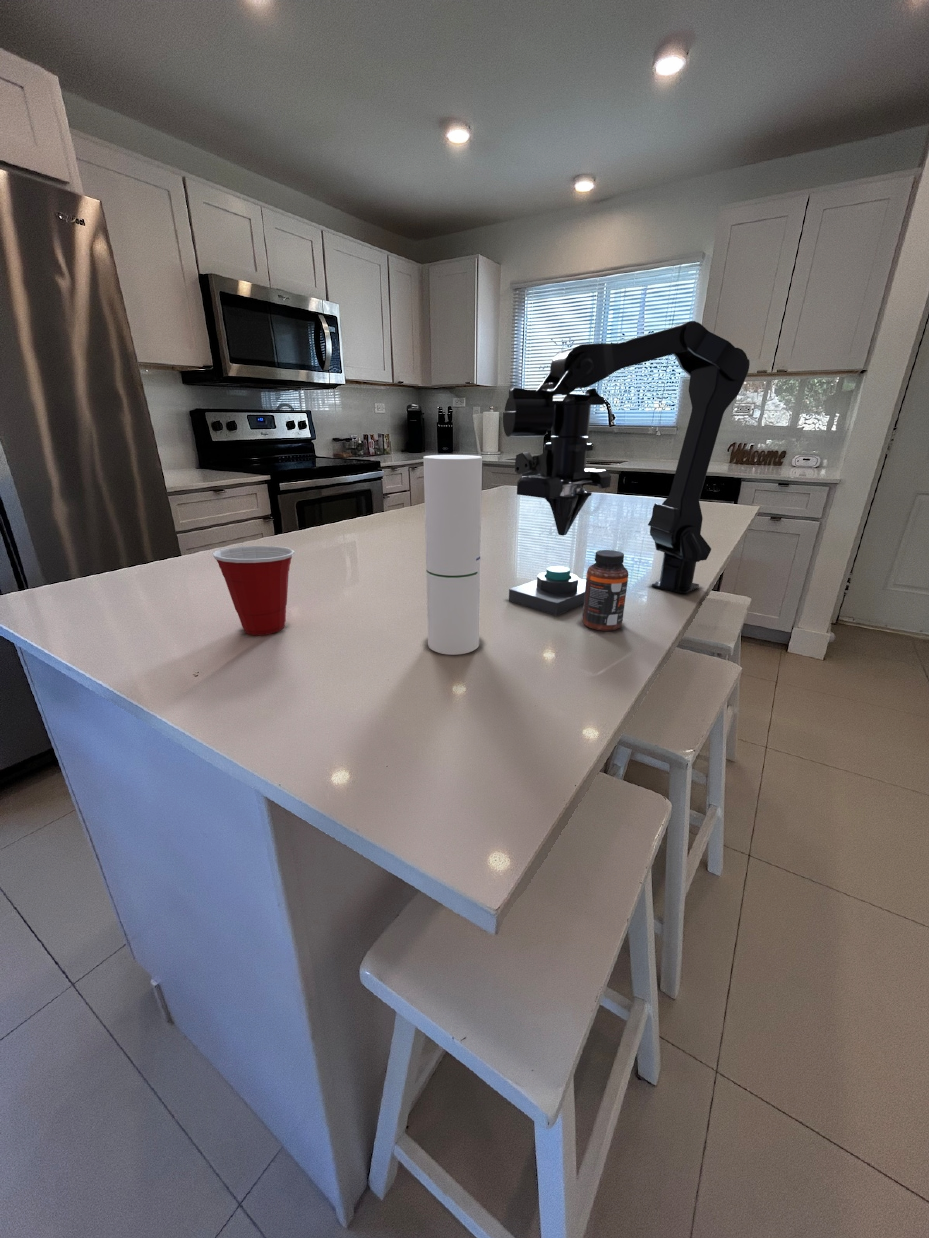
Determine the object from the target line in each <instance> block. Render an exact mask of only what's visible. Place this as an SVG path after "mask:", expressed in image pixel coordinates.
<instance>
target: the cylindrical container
mask: <svg viewBox="0 0 929 1238" xmlns="http://www.w3.org/2000/svg"><path fill="white" fill-rule="evenodd" d="M482 482H483V456H481V455H472V454H432V455H424V456H423V491H424V493H423V494H424V495H423V496H424V497H423V498H424V529H425V531H424V535H425V565H426V566H425V570H426V571H425V574H426V575H425V577H426V611H427V613H426V618H427V621H426V622H427V646H428V648H429V649H430V650H432V651H433V652H435V653H438V654H443V655H448V656H449V655H450V656H451V655H452V656H455V655H457V656H459V655H465V654H468V653H471V652H473V651H476V650H477V649H478V648H479V646H480V613H481V612H480V611H481V608H480V607H481V605H480V604H481V551H482V550H481V549H482V548H481V545H482V492H483V491H482V490H483V489H482V486H483V483H482Z"/></svg>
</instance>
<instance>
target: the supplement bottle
mask: <svg viewBox="0 0 929 1238" xmlns="http://www.w3.org/2000/svg"><path fill="white" fill-rule="evenodd" d="M624 557H625V554H624V553H623V552H622V551H619V550H614V549H613V550H612V549H601V550H597V551H596V552H595V556H594V561H595V563H593V564H591V565H589V567H587V571H586V577H585V580H586V586H585V596H584V604H583V605H582V607H583V608H582V617H581V618H582V619H581V620H582V623H583V625H585V626H586V627H587V628H590V629H591V630H596V631H601V632H602V631H603V632H610V631H616V630H618V629H620V628H621V627H622V624H623V621H624V620H623V619H624V613H625V604H626V598H627V591H628V590H627V589H628V581H629V570H628V568H626V567H625V566H624V560H625V559H624Z"/></svg>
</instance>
